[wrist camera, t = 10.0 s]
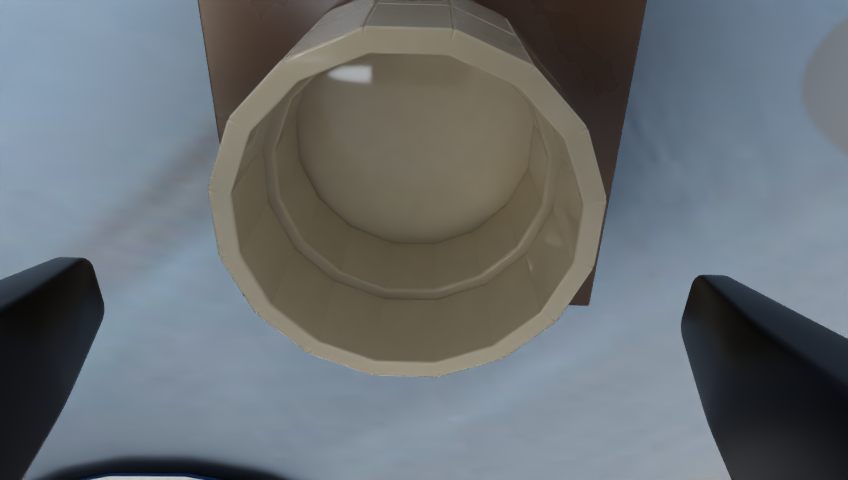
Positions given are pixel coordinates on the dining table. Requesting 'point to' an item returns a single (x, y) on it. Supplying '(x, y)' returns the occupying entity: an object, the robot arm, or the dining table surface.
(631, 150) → the dining table surface
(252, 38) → the riser
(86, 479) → the plate
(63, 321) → the robot arm
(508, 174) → the bowl
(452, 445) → the dining table surface
